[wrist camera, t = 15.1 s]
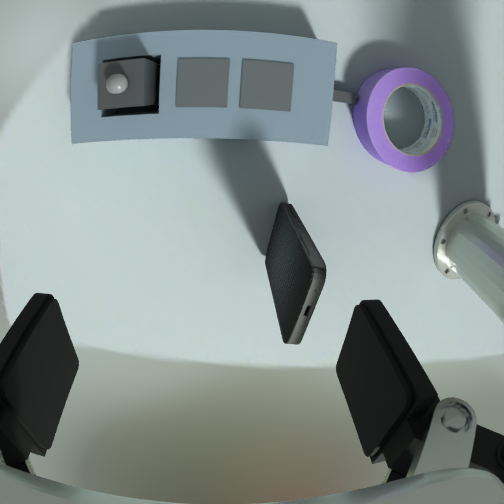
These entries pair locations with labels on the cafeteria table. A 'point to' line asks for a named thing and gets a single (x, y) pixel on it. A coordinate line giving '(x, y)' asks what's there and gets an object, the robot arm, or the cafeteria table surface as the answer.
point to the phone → (293, 273)
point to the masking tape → (435, 126)
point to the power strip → (213, 87)
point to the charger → (128, 83)
